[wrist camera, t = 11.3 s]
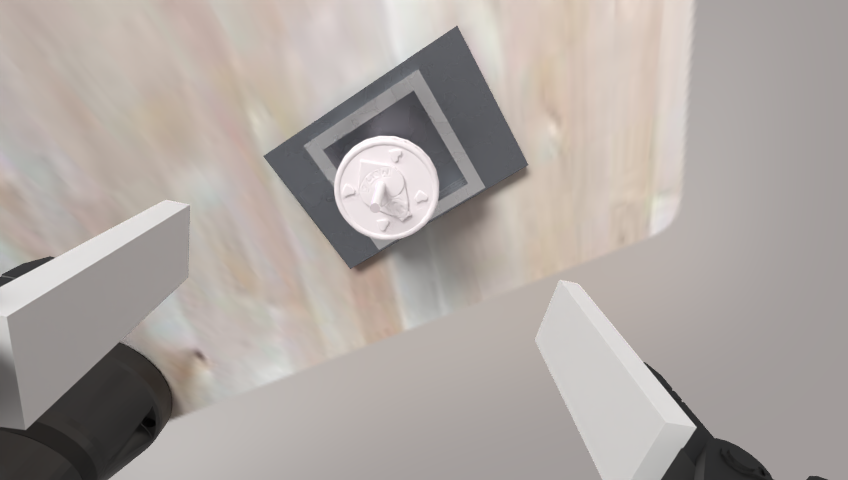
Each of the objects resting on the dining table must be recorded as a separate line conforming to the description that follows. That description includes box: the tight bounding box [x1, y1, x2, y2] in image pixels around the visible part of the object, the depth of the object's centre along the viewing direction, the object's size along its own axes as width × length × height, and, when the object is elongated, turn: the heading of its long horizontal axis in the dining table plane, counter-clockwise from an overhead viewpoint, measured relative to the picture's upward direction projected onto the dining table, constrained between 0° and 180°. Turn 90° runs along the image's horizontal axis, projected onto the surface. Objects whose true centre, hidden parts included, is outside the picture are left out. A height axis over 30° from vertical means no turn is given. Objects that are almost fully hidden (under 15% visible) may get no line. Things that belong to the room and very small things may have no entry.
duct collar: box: [264, 26, 528, 269], centre depth 32 cm, size 18×12×4 cm, turn 121°
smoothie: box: [334, 136, 439, 240], centre depth 27 cm, size 6×6×14 cm
